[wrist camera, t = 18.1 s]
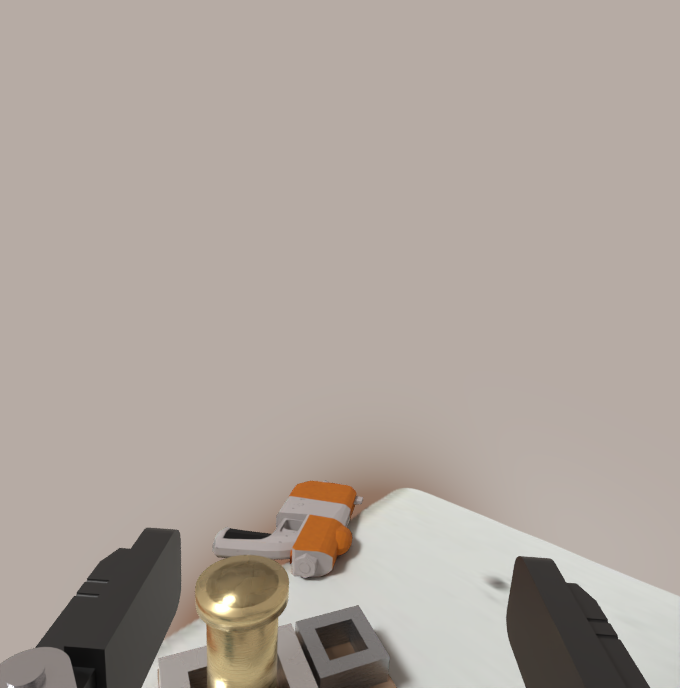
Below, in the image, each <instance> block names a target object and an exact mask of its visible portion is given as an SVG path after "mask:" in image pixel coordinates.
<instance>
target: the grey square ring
mask: <svg viewBox="0 0 680 688" xmlns="http://www.w3.org/2000/svg"><path fill="white" fill-rule="evenodd" d="M295 634H296V636H297V639H298V641H299V643H300V646H301V648H302V650H303V653H304V655H305V657H306V660H307V662H308V665H309V667H310V669H311V672H312V674H313V676H314V679H315V681H316V683H317V686H318V688H369V687H372V686H375V685H378V684H381V683H384V682H387V679H388V669H389V659H390V656H389V655H388V653H387V651H386V650H385V648H384V646H383V645H382V643H381V641H380V640H379V638H378V637H377V635H376V633H375V632H374V630H373V628H372V627H371V625H370V623H369V622H368V620H367V618H366V617H365V615H364V614H363V612H362V610H361V609H360V607H359V605H357V606H354V607H350V608H346V609H342V610H338V611H335V612H331V613H327V614H323V615H319V616H316V617H312V618H308V619H304V620H301V621H297V622H296V628H295ZM348 642H350V644H351V646H352V647H353V649H354V651H355V653H353V654H350V655H347V656H343V657H340V658H337V659H333V660H329V658H328V656H327V654H326V651H325V649H327V648H331V647H334V646H338V645H341V644H344V643H348Z"/></svg>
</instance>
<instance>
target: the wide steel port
mask: <svg viewBox="0 0 680 688" xmlns="http://www.w3.org/2000/svg"><path fill="white" fill-rule="evenodd" d="M158 662H159V688H207V646H204V647H200V648H196V649H193V650H189V651H185V652H181V653H177V654H174V655H170V656H166V657H162V658H158ZM277 681H278V684H279V687H280V688H318V686H317V683H316V681H315V679H314V676H313V674H312V672H311V669H310V667H309V665H308V662H307V660H306V657H305V655H304V653H303V650H302V648H301V646H300V643H299V641H298V639H297V636H296V634H295V631H294V629H293V627H292V624H287V625H283V626H280V627H278V647H277Z"/></svg>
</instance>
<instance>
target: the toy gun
mask: <svg viewBox="0 0 680 688" xmlns="http://www.w3.org/2000/svg"><path fill="white" fill-rule="evenodd" d="M362 501H363V497H357V496H356V491H355V490H354V489H353V488H352V487H350V486H347V485H340V484H335V483H329V482H328V481H326V480H325V481H322V482H318V481H307V482H304V483H300V484H297V485H296V487H295V488H294V489H293V491H292V492H291V494H290V495H289V497H288V499H287V500H286V502H285V503H284V505H283V507H282V508H281V510H280V511H279V513H278V514H277V517H276V518H277V519H276V527H277V528H276V530H275V531H274V533H273V534H268V533H260V532H252V531H243V530H237V529H231V528H228V527H226V528H224V529H222V530H221V531H219V532H218V534H217V535H216V537H215V539H214V543H213V553H214V554H215V555H216V556H217V557H222V558H223V557H224V558H229V557H233V556H238V555H258V556H263V557H266V558H269V559H290V564H291V563H292V574H293V575H294V576H302V577H303V578H306V577H319V576H323V575H325V574H327V573H329V572H330V571H331V570H332V569H333V566H334V564H335V561H336V558H337V555H342V554H344V553H346V552H347V551H348V550H349V548H350V546H351V543H352V533H351V532H350V530H349V529H348V528H347V527H348V524H349V521H350V518H351V515H352V512H353V510H354V507H355V504H362Z"/></svg>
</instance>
